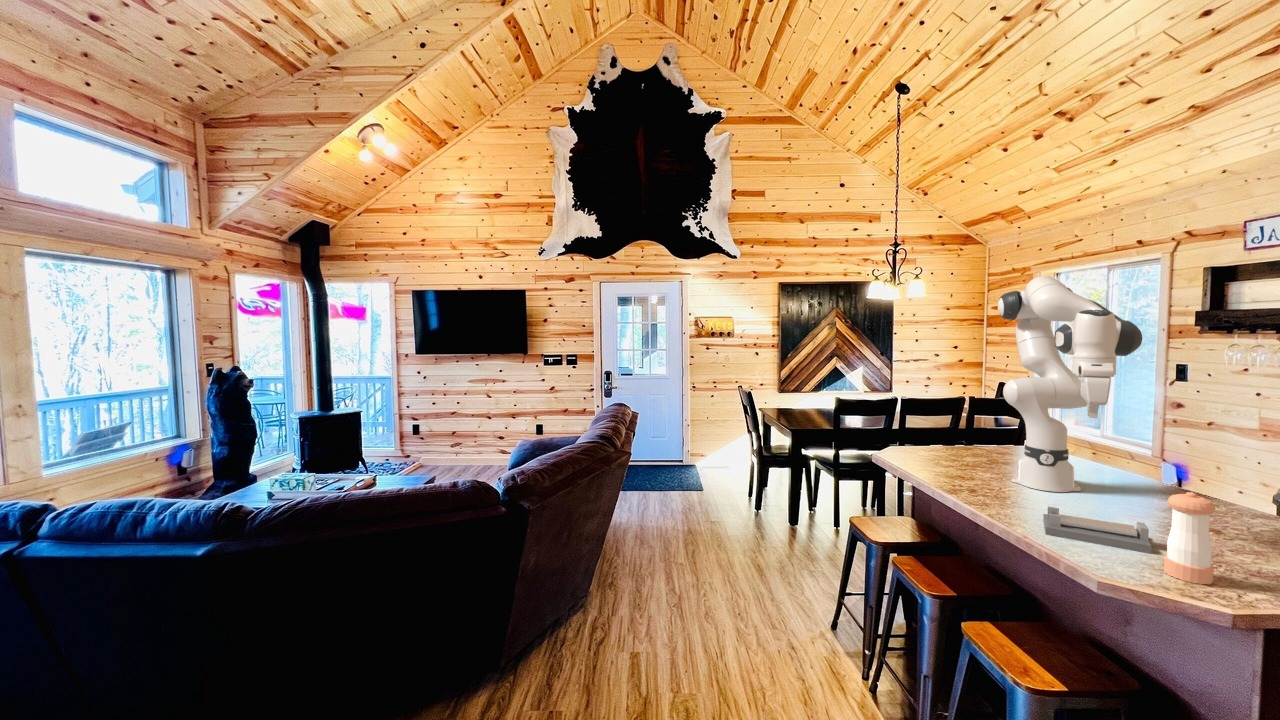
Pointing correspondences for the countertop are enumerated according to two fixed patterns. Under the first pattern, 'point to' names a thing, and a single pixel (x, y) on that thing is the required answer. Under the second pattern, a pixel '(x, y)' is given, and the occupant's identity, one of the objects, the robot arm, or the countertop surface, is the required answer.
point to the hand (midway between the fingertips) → (1092, 417)
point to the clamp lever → (1098, 525)
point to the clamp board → (1097, 534)
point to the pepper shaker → (1190, 539)
